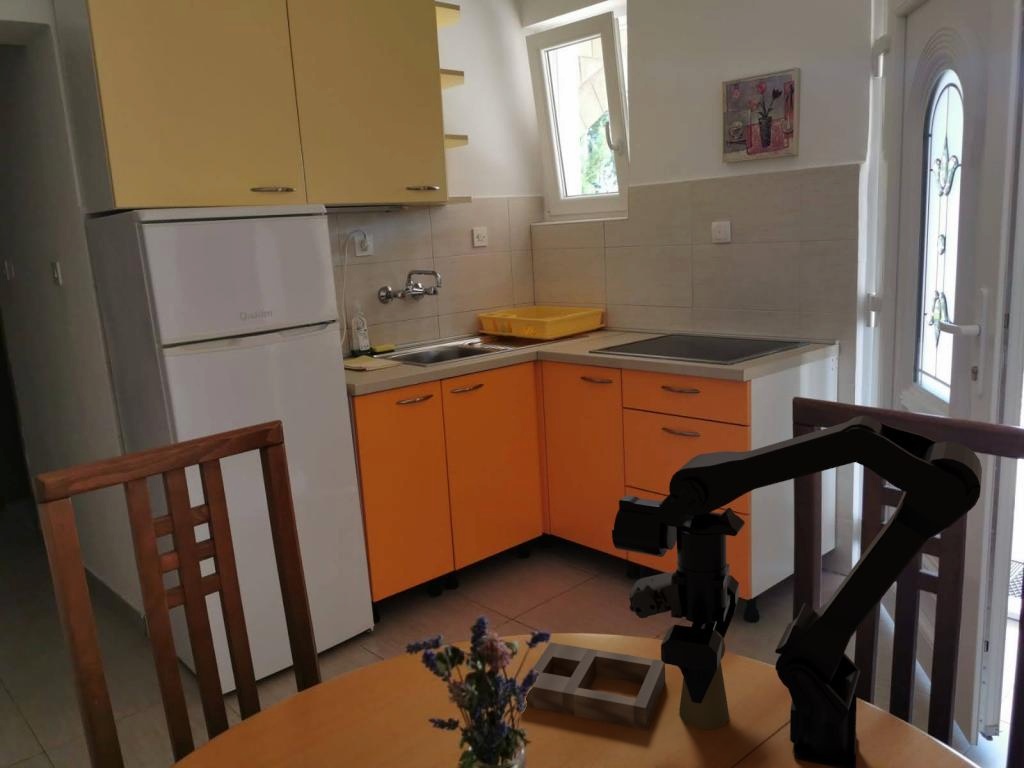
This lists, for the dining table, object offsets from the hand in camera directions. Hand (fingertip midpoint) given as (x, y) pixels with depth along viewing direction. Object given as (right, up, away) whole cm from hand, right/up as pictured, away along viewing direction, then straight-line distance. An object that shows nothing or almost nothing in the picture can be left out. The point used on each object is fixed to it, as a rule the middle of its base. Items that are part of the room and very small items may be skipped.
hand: (703, 680), depth 96 cm
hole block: (-13, -4, +6) cm, 15 cm away
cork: (0, -5, +1) cm, 5 cm away
